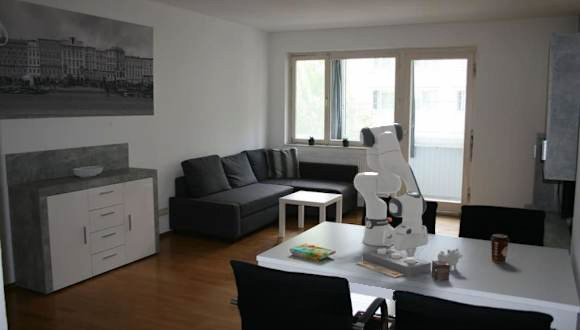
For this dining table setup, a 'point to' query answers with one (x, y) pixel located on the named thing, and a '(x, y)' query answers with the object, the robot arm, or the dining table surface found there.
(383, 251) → the button
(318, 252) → the puzzle game
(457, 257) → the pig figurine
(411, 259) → the button
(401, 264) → the console
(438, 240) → the dining table surface
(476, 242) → the dining table surface
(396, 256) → the button
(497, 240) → the coffee cup
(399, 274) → the pattern card
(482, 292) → the dining table surface
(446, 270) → the box
